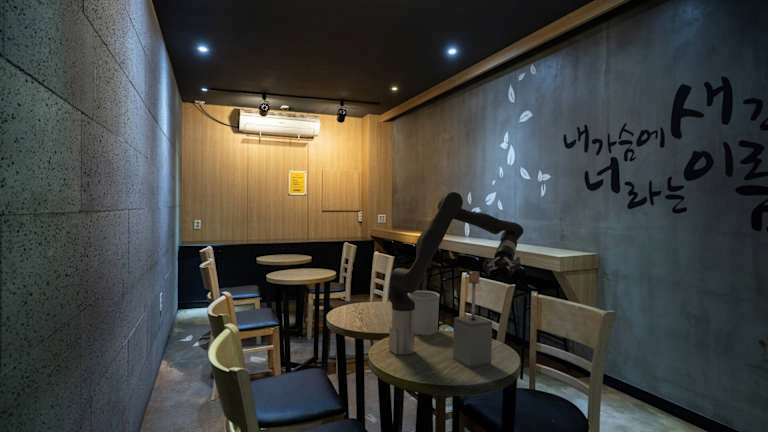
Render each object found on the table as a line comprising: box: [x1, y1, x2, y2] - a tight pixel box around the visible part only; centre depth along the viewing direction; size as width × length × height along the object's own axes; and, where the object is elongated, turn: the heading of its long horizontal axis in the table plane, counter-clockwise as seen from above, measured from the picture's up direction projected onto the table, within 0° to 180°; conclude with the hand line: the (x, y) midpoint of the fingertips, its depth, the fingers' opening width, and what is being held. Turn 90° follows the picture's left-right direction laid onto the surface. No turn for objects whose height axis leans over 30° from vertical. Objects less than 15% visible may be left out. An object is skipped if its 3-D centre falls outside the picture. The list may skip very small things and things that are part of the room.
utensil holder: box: [407, 290, 441, 336], centre depth 193 cm, size 15×15×18 cm
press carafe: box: [452, 314, 493, 369], centre depth 156 cm, size 10×10×16 cm
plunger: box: [468, 270, 481, 321], centre depth 156 cm, size 8×8×23 cm
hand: (498, 273), depth 161 cm, fingers open, 8 cm apart
